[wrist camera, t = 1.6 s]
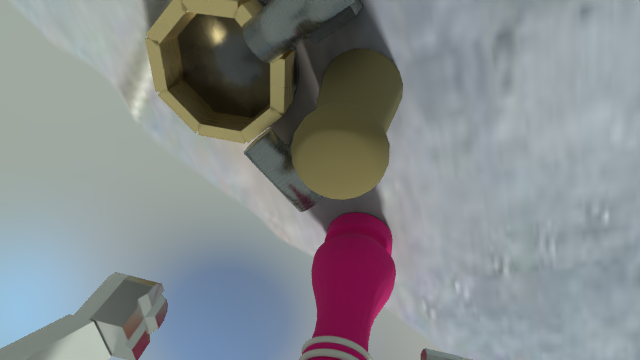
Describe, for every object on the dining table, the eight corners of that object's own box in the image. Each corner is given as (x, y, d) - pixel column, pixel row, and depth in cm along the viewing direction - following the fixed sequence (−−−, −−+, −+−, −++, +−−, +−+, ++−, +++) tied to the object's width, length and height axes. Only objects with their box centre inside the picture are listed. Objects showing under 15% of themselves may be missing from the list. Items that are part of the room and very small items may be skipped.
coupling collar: (158, -21, 25) (131, -16, 23) (302, -3, 24) (289, 4, 21) (180, 114, 31) (160, 130, 29) (295, 135, 30) (285, 153, 27)
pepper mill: (315, 248, 37) (237, 492, 21) (335, 196, 32) (256, 454, 16) (381, 272, 37) (354, 536, 21) (410, 223, 32) (404, 510, 16)
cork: (305, 89, 27) (252, 164, 18) (361, 29, 24) (329, 84, 15) (361, 141, 29) (337, 234, 20) (421, 91, 25) (423, 175, 17)
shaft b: (341, 156, 30) (327, 198, 25) (307, 177, 32) (288, 220, 27) (294, 100, 28) (270, 135, 23) (261, 126, 30) (232, 163, 25)
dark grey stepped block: (335, -61, 21) (312, -59, 17) (369, 0, 23) (357, 18, 18) (263, 0, 24) (227, 16, 20) (298, 51, 26) (271, 78, 21)
